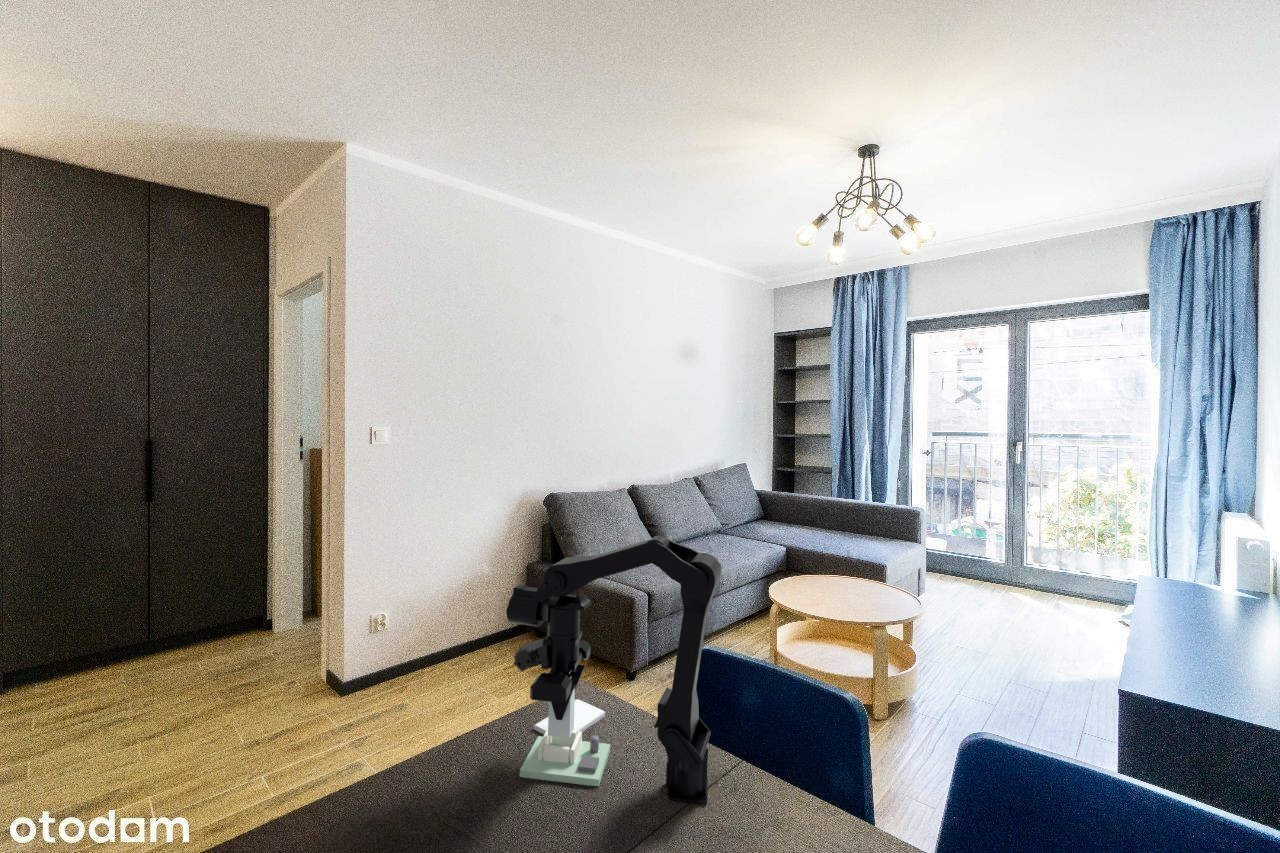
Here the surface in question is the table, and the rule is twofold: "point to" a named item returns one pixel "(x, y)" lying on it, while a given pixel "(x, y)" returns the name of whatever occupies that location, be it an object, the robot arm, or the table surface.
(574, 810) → the table surface
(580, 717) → the external hard drive
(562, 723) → the plug
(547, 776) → the board
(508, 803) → the table surface
